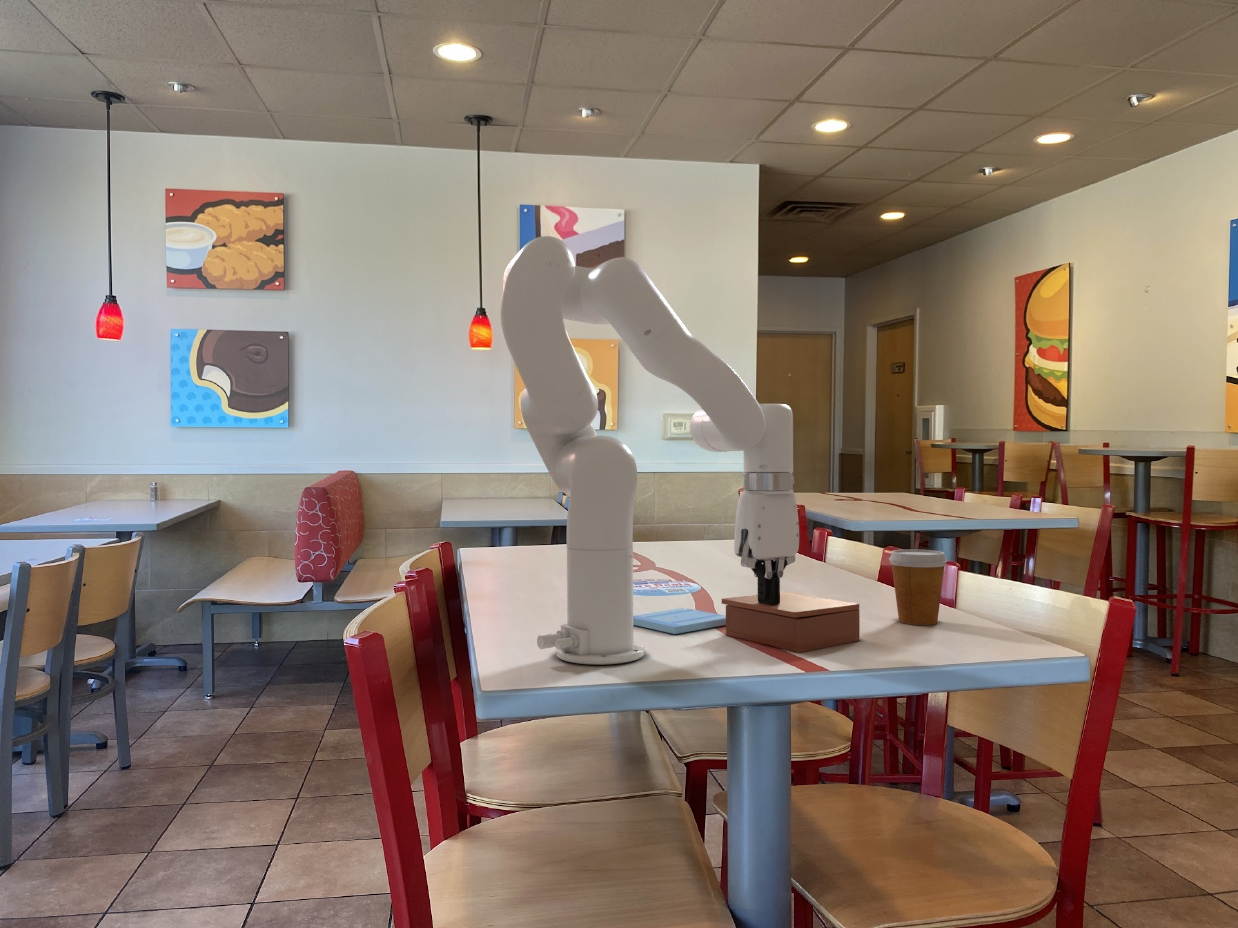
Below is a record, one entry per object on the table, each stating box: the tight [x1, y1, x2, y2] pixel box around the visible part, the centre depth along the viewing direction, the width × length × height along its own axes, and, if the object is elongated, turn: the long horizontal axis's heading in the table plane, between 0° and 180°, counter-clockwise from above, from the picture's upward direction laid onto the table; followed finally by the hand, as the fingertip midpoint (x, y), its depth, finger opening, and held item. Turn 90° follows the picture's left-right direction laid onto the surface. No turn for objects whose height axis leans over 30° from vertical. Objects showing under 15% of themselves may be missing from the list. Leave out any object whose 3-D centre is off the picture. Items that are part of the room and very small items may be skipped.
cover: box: [721, 591, 860, 618], centre depth 135 cm, size 14×16×1 cm
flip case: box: [725, 604, 861, 653], centre depth 136 cm, size 14×16×5 cm
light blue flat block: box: [633, 607, 726, 635], centre depth 147 cm, size 14×12×1 cm
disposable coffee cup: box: [888, 549, 948, 626], centre depth 148 cm, size 10×10×12 cm
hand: (768, 603), depth 133 cm, fingers closed
